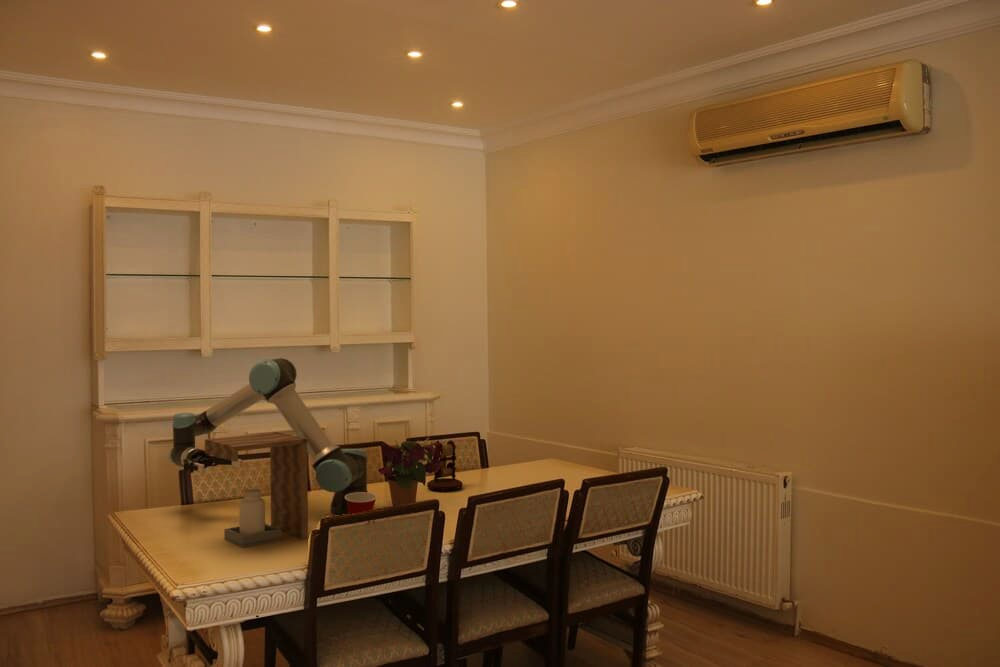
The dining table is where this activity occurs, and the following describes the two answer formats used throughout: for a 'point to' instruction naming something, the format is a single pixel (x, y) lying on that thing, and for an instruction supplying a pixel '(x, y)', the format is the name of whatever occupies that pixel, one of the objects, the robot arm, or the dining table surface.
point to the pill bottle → (252, 512)
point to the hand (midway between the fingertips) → (222, 466)
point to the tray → (252, 536)
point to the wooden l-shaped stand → (276, 475)
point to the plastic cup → (360, 501)
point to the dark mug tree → (446, 470)
